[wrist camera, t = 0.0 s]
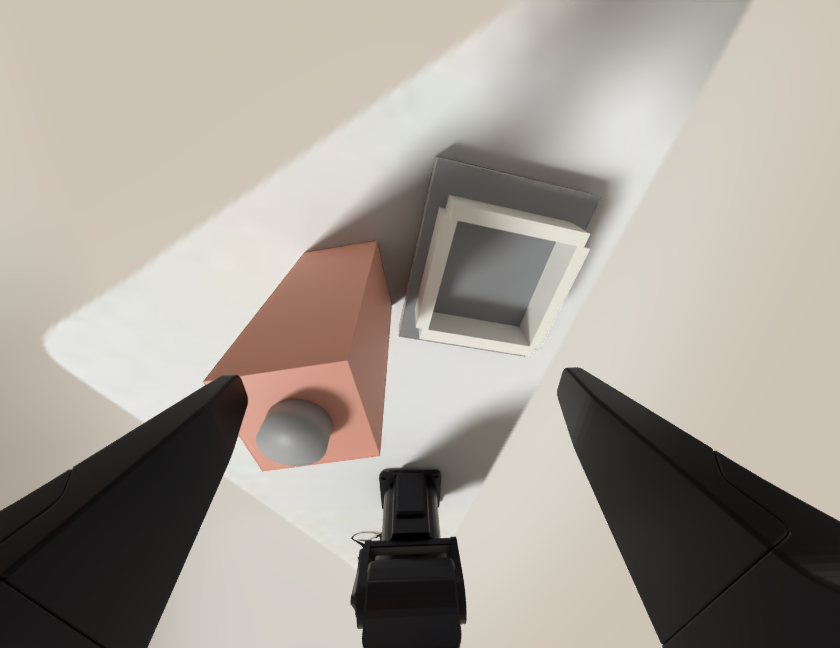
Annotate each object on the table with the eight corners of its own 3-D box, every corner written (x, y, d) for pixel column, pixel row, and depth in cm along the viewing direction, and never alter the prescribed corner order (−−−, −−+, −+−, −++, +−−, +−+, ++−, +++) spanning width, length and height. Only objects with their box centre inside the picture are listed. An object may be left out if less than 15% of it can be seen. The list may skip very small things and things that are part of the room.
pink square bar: (391, 305, 25) (378, 478, 13) (326, 315, 25) (252, 494, 13) (377, 240, 22) (342, 380, 10) (304, 252, 22) (186, 403, 10)
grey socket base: (519, 345, 27) (536, 377, 23) (399, 325, 25) (398, 357, 22) (588, 193, 21) (624, 206, 17) (435, 156, 19) (441, 163, 16)
